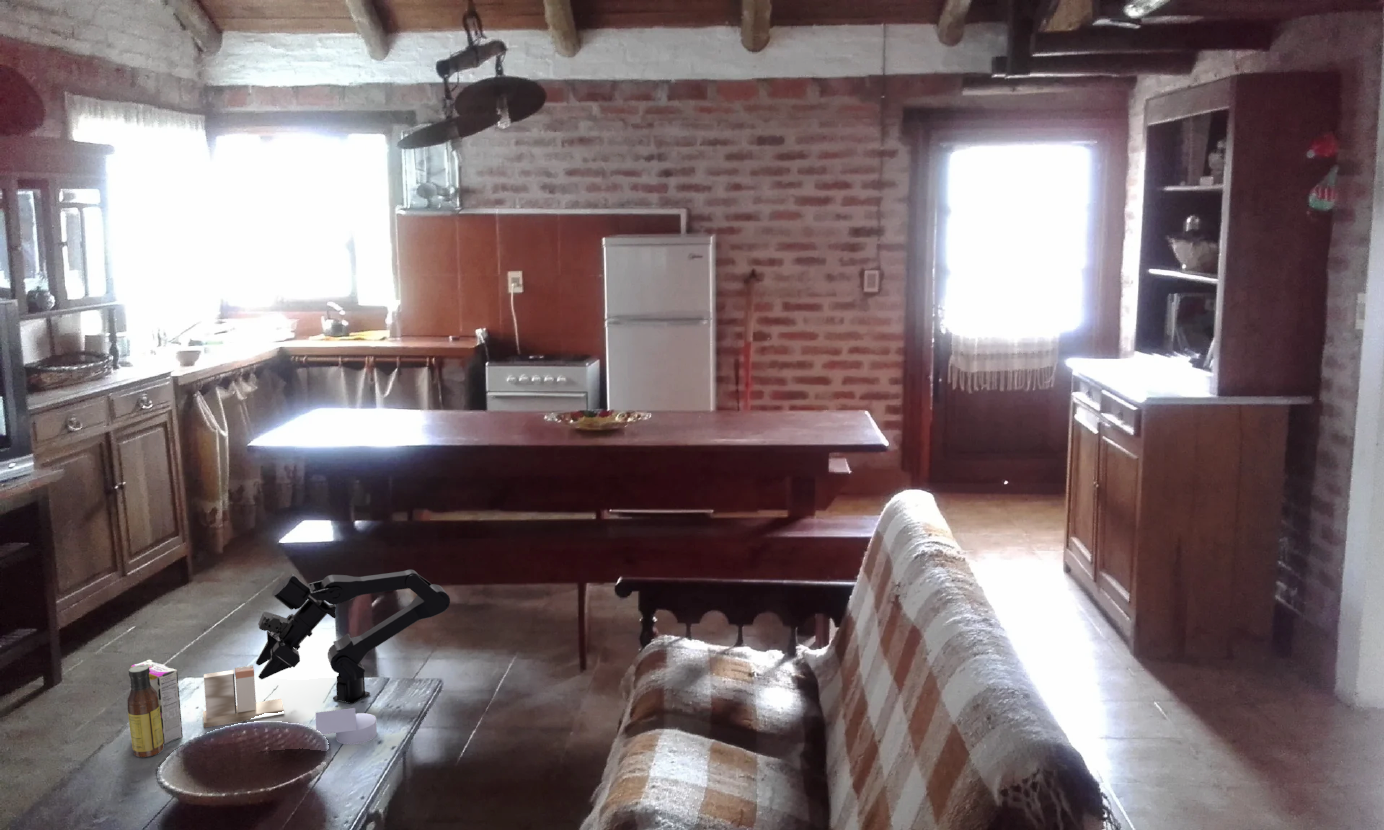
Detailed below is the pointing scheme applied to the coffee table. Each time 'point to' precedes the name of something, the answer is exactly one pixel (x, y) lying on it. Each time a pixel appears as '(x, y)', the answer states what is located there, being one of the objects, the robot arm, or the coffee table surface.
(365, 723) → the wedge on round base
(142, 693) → the sauce bottle
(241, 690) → the white tall block
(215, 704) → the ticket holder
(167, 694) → the candy bar box
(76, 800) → the coffee table surface
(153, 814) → the coffee table surface
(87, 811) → the coffee table surface
